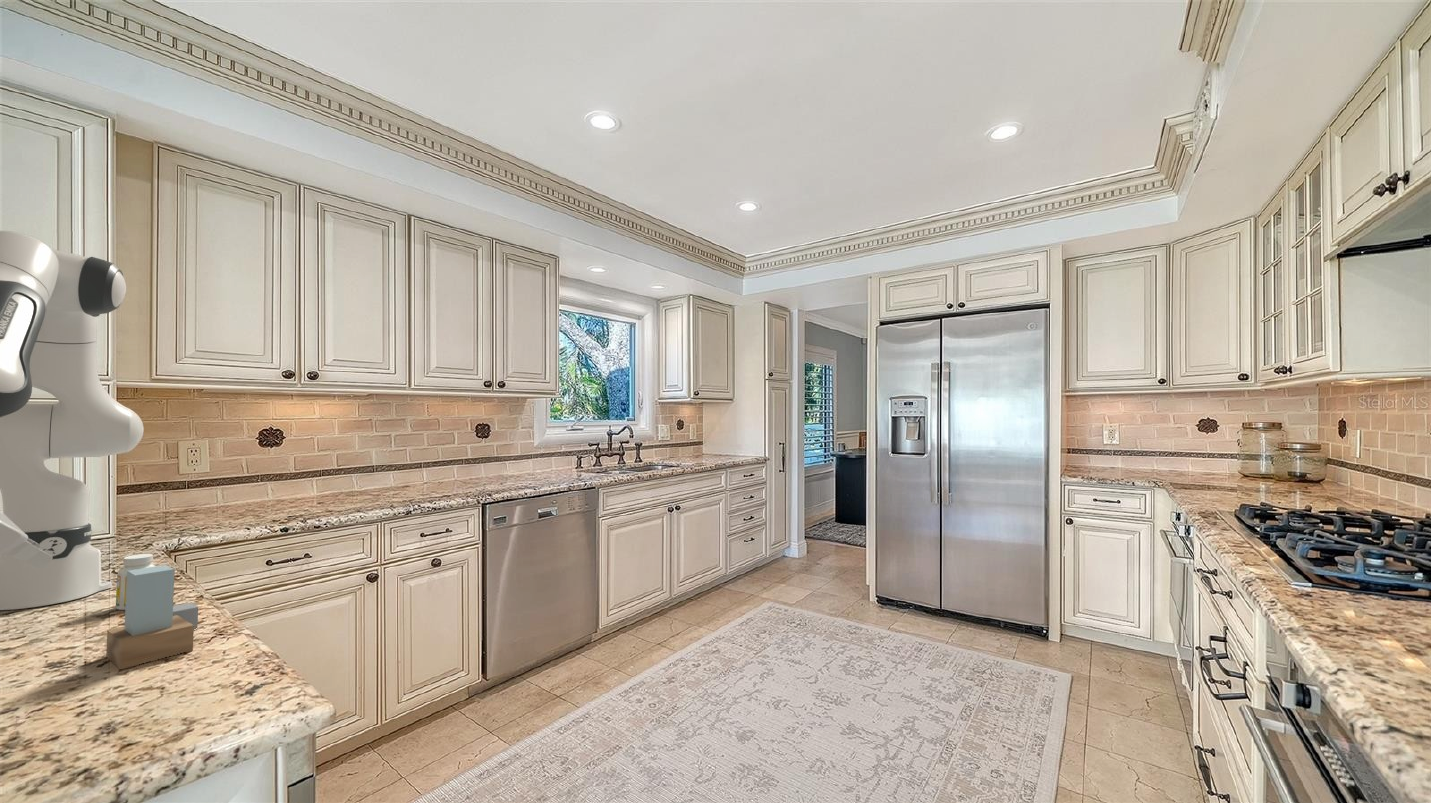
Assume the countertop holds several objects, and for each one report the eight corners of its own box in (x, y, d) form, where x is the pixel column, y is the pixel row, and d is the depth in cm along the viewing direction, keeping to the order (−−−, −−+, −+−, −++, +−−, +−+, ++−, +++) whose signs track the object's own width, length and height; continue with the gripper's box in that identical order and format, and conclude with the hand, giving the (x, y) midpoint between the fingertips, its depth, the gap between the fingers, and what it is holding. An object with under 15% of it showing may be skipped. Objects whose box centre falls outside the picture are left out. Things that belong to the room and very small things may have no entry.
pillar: (124, 629, 87) (127, 570, 87) (163, 621, 90) (165, 564, 91) (132, 635, 84) (135, 575, 85) (172, 626, 88) (174, 569, 88)
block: (159, 631, 96) (160, 608, 96) (190, 625, 100) (191, 602, 100) (165, 637, 94) (166, 613, 94) (197, 630, 97) (198, 606, 98)
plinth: (106, 656, 86) (107, 630, 86) (176, 639, 93) (177, 615, 93) (120, 669, 82) (121, 641, 82) (192, 650, 89) (193, 625, 89)
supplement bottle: (107, 610, 106) (109, 559, 106) (136, 601, 111) (138, 552, 112) (135, 610, 106) (137, 559, 106) (163, 601, 111) (165, 553, 112)
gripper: (-36, 485, 68) (80, 550, 76) (-53, 469, 79) (51, 527, 87) (-103, 527, 64) (27, 591, 72) (-110, 504, 75) (3, 562, 83)
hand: (40, 556), depth 80 cm, fingers open, 8 cm apart
